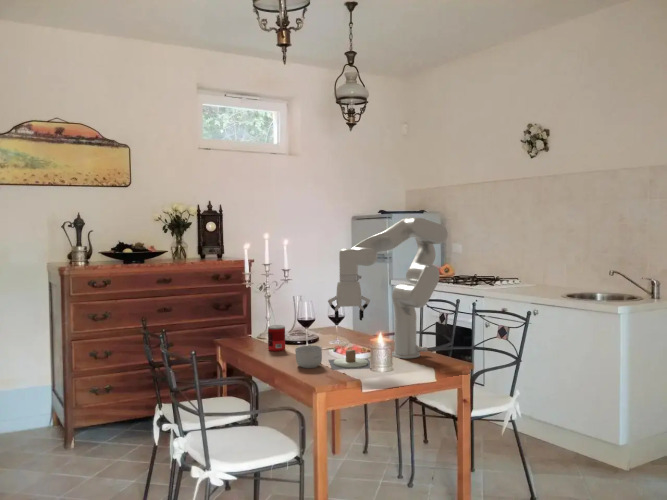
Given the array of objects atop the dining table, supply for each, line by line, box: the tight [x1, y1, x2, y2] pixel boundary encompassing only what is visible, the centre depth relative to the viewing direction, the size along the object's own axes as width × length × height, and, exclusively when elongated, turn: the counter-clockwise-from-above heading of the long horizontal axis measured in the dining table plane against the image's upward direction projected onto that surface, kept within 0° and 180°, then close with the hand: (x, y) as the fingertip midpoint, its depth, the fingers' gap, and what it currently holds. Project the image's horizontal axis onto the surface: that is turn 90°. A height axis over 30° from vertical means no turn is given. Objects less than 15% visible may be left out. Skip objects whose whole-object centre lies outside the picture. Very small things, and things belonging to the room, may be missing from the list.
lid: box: [333, 349, 368, 368], centre depth 244 cm, size 14×14×6 cm
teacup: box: [294, 344, 323, 369], centre depth 242 cm, size 14×11×8 cm
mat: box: [327, 357, 371, 371], centre depth 244 cm, size 17×17×1 cm
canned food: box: [267, 324, 286, 353], centre depth 273 cm, size 8×8×11 cm
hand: (349, 320), depth 243 cm, fingers open, 9 cm apart
